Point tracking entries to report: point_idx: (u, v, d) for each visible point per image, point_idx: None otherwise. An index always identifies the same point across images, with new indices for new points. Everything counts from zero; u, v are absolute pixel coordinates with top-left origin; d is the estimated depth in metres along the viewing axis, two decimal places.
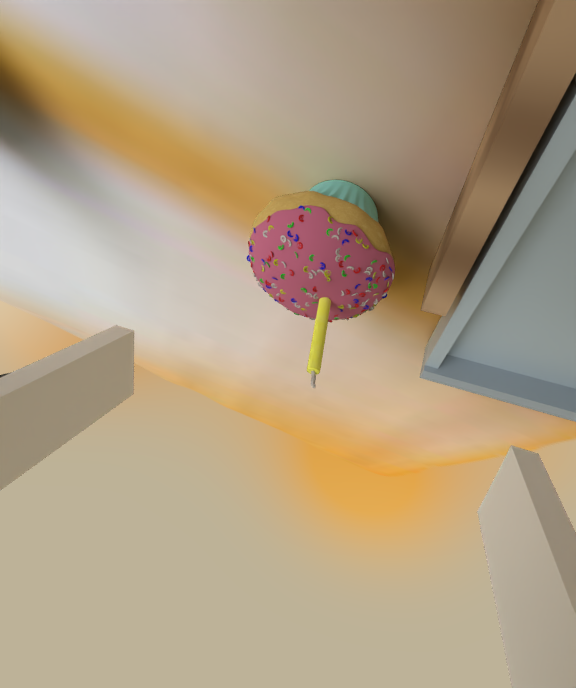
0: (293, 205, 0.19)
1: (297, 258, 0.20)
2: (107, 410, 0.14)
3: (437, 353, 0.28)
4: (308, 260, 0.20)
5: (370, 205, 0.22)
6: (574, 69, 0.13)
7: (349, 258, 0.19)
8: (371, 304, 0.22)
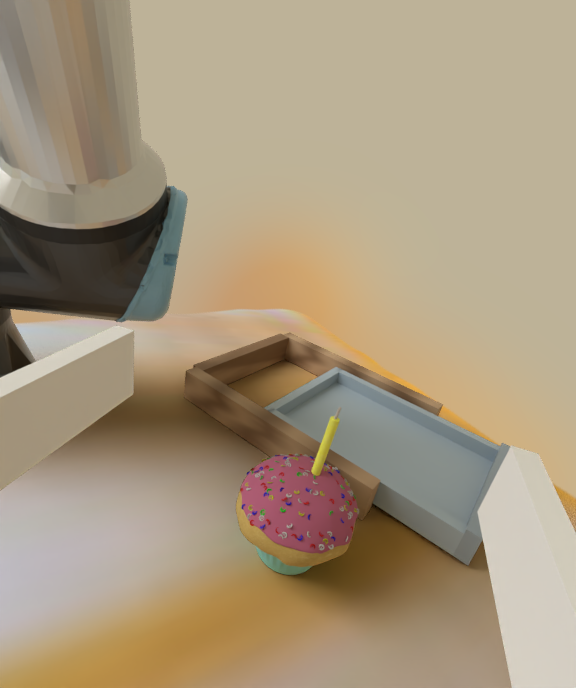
0: None
1: (273, 469, 0.27)
2: (107, 410, 0.14)
3: (440, 515, 0.31)
4: (277, 464, 0.28)
5: None
6: None
7: None
8: (338, 472, 0.29)
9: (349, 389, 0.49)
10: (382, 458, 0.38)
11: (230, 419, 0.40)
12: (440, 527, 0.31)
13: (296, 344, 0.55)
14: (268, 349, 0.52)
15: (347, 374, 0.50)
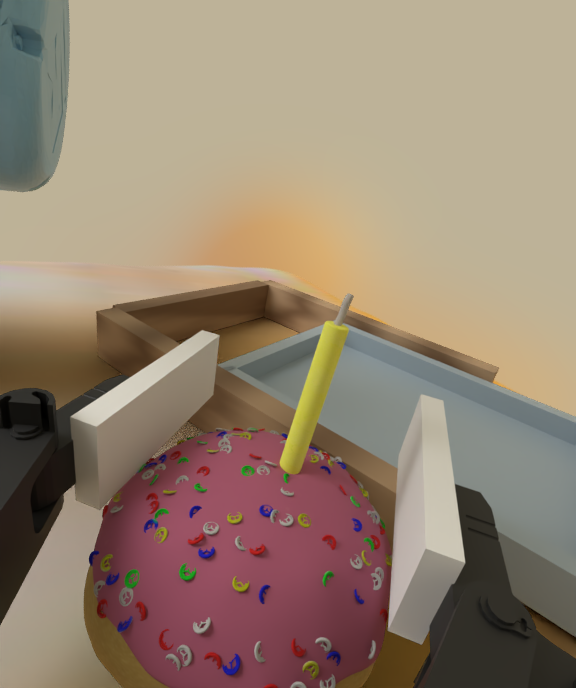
0: None
1: (188, 460, 0.11)
2: (195, 410, 0.15)
3: (554, 556, 0.15)
4: (201, 447, 0.12)
5: None
6: None
7: None
8: None
9: (356, 350, 0.34)
10: None
11: None
12: (556, 582, 0.15)
13: (279, 293, 0.39)
14: (238, 297, 0.37)
15: (351, 328, 0.34)
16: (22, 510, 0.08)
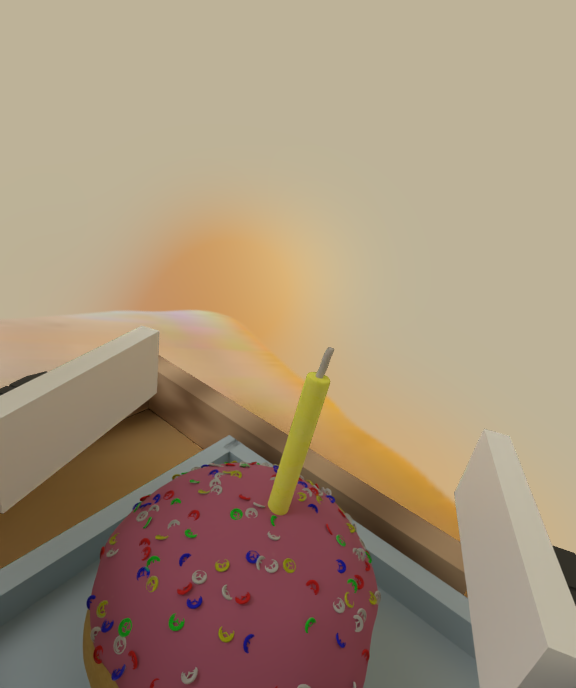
0: None
1: (180, 502, 0.12)
2: (133, 408, 0.14)
3: None
4: (193, 487, 0.12)
5: None
6: None
7: (231, 463, 0.14)
8: (331, 499, 0.14)
9: None
10: None
11: None
12: None
13: (163, 381, 0.27)
14: None
15: (247, 456, 0.21)
16: None
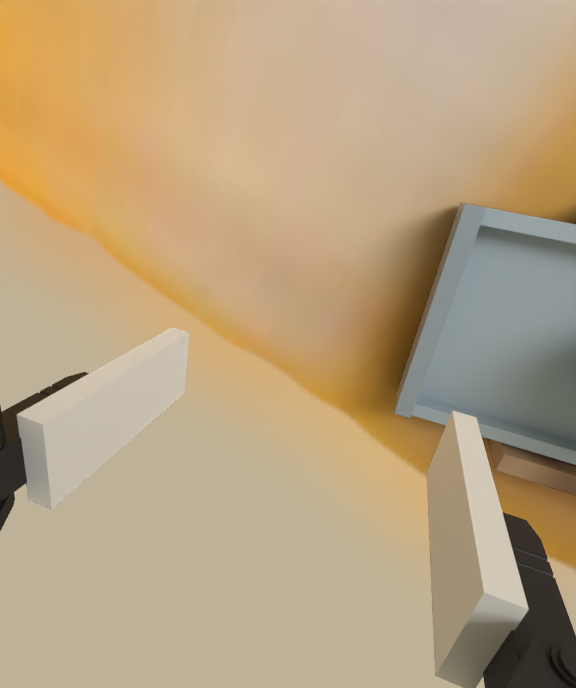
0: None
1: None
2: (164, 408, 0.14)
3: (517, 221, 0.23)
4: None
5: None
6: None
7: None
8: None
9: None
10: None
11: None
12: None
13: None
14: None
15: None
16: None
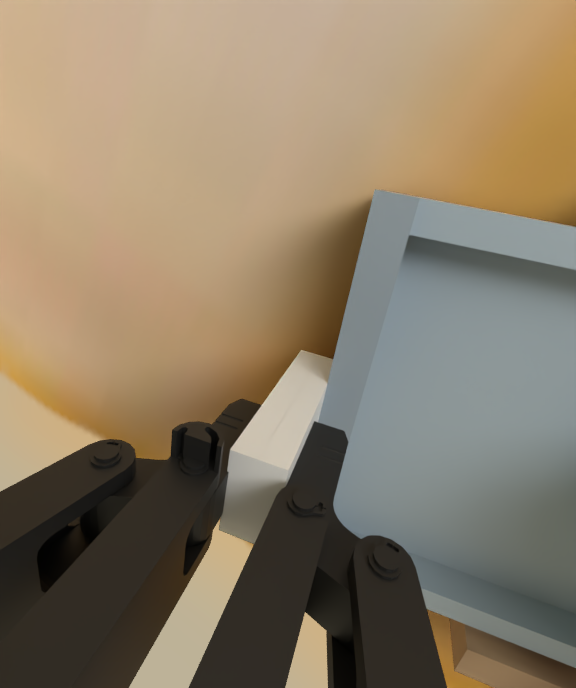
0: None
1: None
2: None
3: (489, 228, 0.10)
4: None
5: None
6: None
7: None
8: None
9: None
10: None
11: None
12: (476, 208, 0.11)
13: None
14: None
15: None
16: (177, 554, 0.08)
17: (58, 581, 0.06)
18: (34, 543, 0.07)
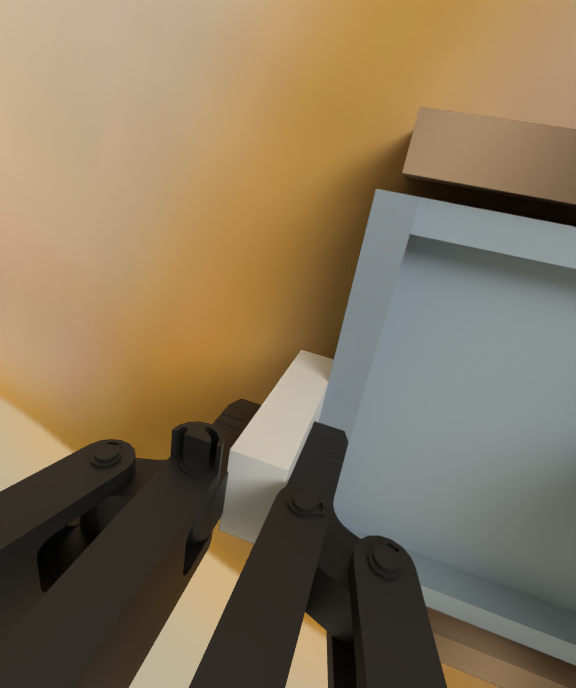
0: None
1: None
2: None
3: (489, 227, 0.11)
4: None
5: None
6: None
7: None
8: None
9: None
10: None
11: None
12: (476, 207, 0.11)
13: None
14: None
15: None
16: (177, 554, 0.08)
17: (58, 581, 0.06)
18: (34, 543, 0.07)
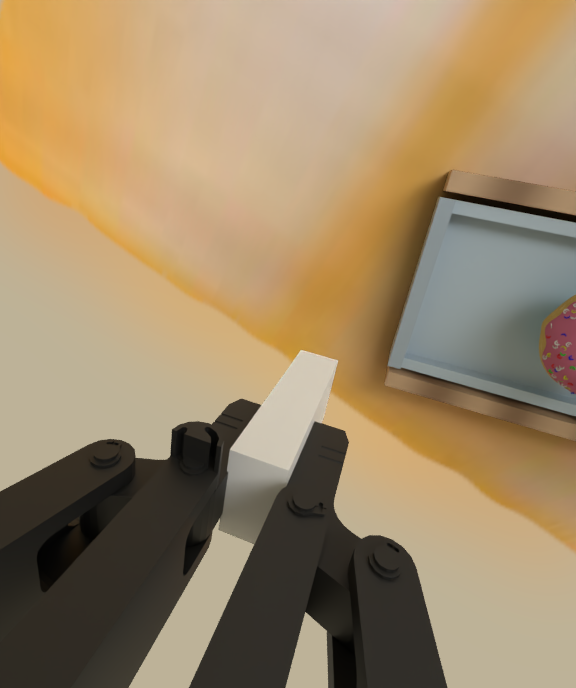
0: None
1: None
2: None
3: (479, 210, 0.30)
4: None
5: None
6: None
7: None
8: None
9: None
10: (541, 282, 0.32)
11: None
12: None
13: None
14: None
15: None
16: (177, 554, 0.08)
17: (58, 581, 0.06)
18: (34, 543, 0.07)
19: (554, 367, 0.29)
